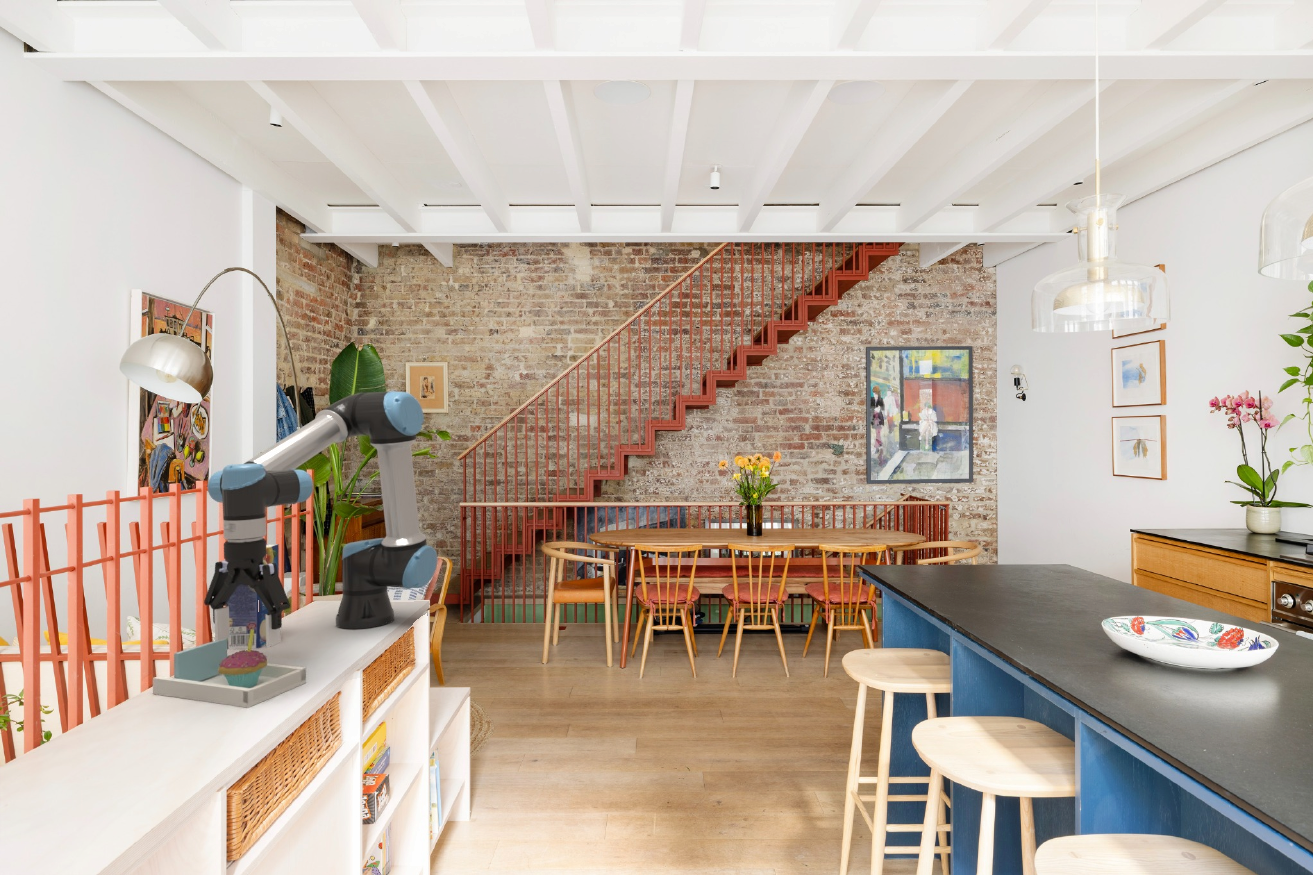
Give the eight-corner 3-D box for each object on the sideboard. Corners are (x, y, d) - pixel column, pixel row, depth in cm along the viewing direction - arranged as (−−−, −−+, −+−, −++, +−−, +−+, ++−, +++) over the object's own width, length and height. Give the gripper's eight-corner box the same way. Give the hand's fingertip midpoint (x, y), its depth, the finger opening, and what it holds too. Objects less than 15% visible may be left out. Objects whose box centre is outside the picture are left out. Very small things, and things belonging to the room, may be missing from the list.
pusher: (209, 669, 151) (209, 636, 151) (227, 671, 149) (227, 638, 149) (160, 686, 140) (160, 651, 141) (178, 689, 139) (178, 653, 139)
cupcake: (253, 676, 147) (253, 620, 147) (275, 683, 142) (275, 625, 142) (210, 688, 139) (210, 629, 139) (232, 696, 135) (231, 635, 135)
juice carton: (258, 648, 169) (258, 551, 170) (226, 649, 169) (225, 552, 169) (279, 634, 181) (278, 544, 181) (249, 636, 180) (248, 544, 181)
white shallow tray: (216, 671, 152) (215, 657, 152) (305, 682, 145) (305, 667, 145) (152, 693, 139) (152, 678, 139) (248, 707, 131) (247, 690, 131)
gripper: (182, 539, 141) (185, 642, 141) (277, 544, 133) (280, 652, 134) (215, 534, 148) (218, 631, 149) (307, 538, 141) (310, 641, 141)
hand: (247, 642), depth 141 cm, fingers open, 13 cm apart
